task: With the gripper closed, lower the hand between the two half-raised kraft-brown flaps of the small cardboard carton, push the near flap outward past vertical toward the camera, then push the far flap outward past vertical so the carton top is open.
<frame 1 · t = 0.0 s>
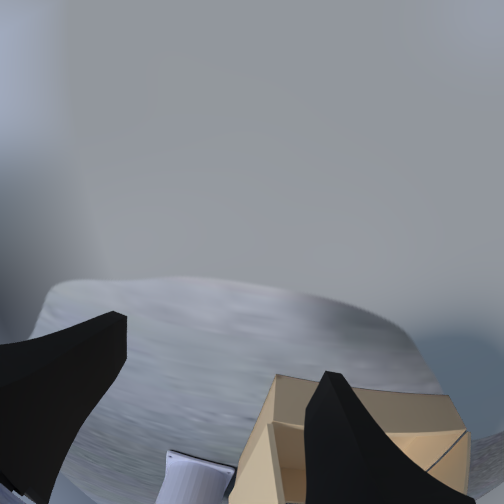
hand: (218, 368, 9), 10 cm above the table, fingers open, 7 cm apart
carton: (343, 437, 23), on the table
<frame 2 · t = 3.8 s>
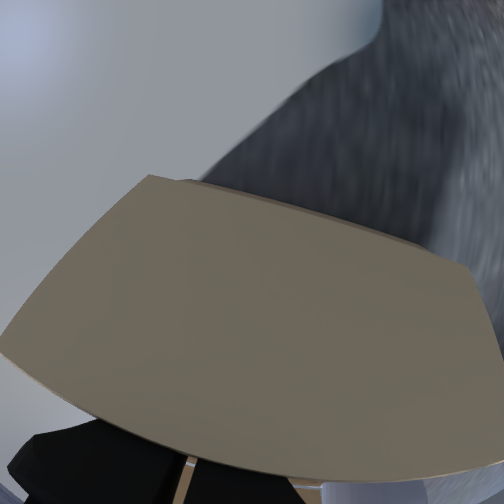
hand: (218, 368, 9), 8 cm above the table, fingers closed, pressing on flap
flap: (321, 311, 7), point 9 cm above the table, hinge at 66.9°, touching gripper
carton: (268, 345, 18), on the table
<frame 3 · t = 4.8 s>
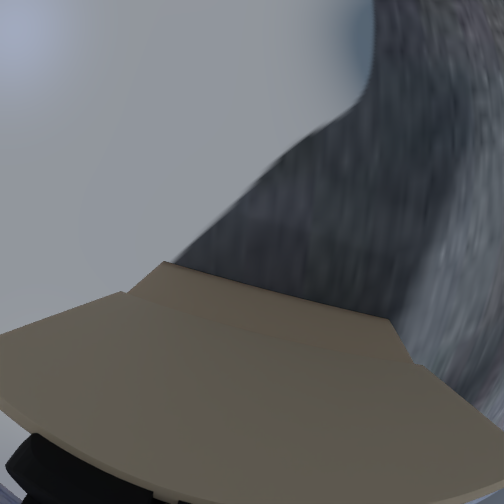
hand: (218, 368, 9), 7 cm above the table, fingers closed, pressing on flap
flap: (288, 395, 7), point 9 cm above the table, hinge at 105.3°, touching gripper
carton: (244, 399, 19), on the table
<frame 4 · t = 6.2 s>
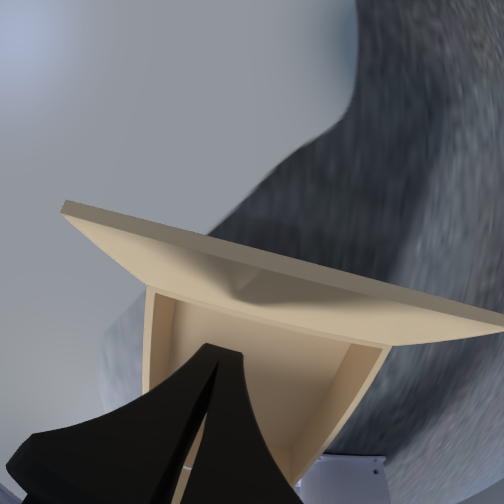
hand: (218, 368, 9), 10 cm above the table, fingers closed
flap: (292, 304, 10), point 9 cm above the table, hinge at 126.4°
carton: (247, 378, 22), on the table
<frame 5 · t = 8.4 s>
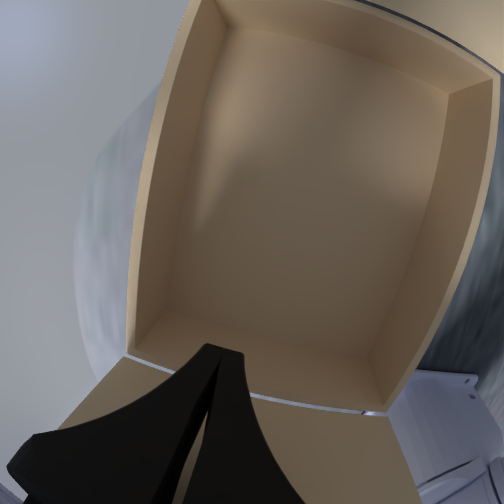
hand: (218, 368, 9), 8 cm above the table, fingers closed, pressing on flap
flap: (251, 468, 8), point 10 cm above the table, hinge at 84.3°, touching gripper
carton: (310, 196, 15), on the table
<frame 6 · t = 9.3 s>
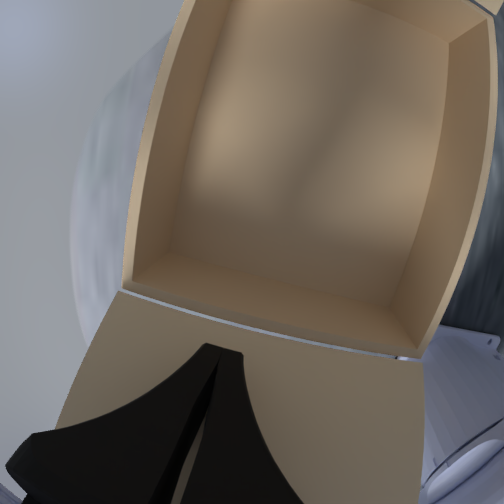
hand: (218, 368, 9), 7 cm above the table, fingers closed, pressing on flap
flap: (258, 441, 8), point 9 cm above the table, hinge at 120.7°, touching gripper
carton: (323, 127, 14), on the table
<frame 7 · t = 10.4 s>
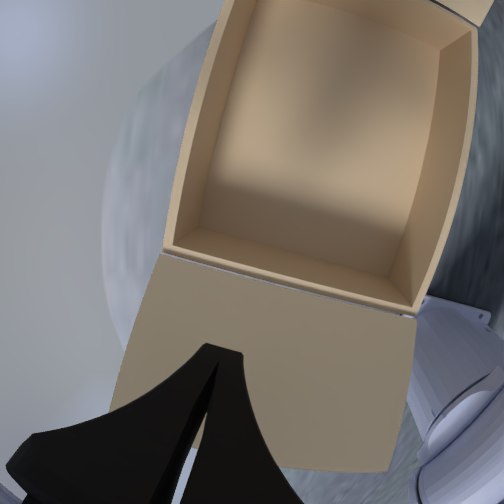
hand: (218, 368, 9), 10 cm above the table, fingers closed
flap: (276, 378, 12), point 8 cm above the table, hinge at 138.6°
carton: (330, 122, 16), on the table
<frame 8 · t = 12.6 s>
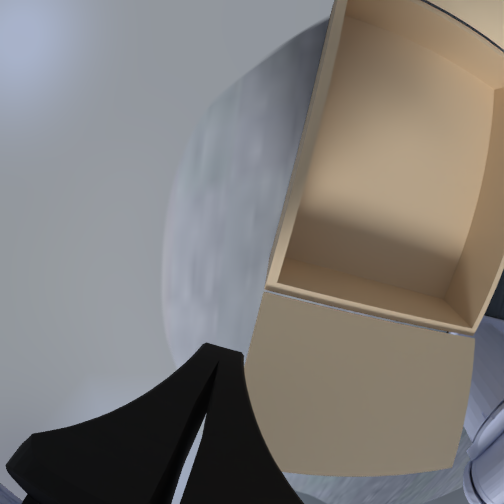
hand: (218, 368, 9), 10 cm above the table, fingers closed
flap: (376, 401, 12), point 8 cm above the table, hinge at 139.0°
carton: (406, 156, 16), on the table
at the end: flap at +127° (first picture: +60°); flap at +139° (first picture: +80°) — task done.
